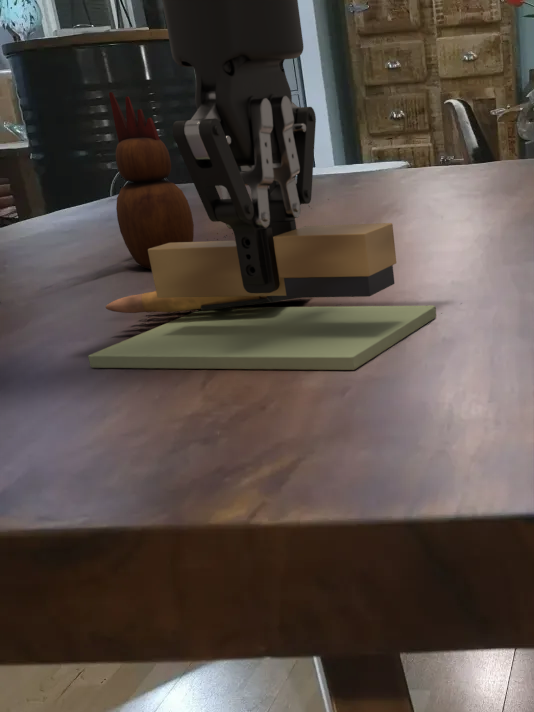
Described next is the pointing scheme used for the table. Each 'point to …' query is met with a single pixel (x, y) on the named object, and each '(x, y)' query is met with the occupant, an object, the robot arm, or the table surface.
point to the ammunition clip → (184, 302)
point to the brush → (284, 264)
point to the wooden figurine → (147, 188)
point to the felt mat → (268, 338)
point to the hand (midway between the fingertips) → (274, 285)
